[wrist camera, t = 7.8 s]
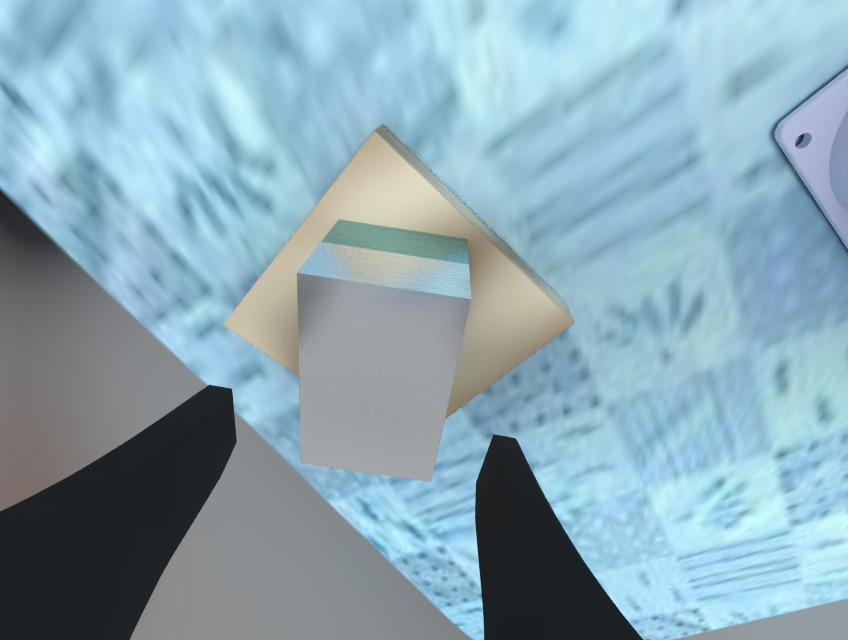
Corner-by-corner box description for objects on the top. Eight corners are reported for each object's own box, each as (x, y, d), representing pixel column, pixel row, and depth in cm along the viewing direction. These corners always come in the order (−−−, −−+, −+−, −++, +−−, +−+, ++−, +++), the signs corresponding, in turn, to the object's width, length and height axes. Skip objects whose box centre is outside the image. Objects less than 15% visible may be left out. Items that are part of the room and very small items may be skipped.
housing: (436, 395, 20) (431, 481, 16) (333, 380, 20) (301, 462, 16) (467, 239, 16) (471, 299, 12) (338, 219, 16) (296, 272, 12)
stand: (564, 300, 20) (574, 322, 18) (408, 421, 24) (405, 448, 22) (382, 124, 16) (374, 131, 14) (242, 303, 21) (223, 324, 19)
